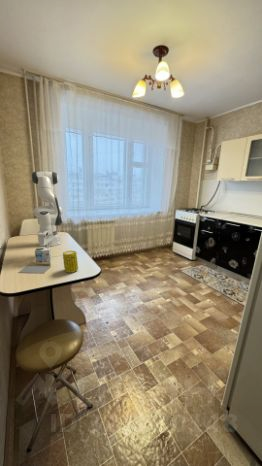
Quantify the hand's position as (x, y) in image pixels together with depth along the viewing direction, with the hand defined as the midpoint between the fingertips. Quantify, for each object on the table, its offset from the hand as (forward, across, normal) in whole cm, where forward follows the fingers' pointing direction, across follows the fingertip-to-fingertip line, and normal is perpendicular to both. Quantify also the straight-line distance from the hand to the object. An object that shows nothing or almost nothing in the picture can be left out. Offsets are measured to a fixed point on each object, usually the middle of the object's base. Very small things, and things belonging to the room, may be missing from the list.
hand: (47, 248), depth 159 cm
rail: (+9, +15, 0) cm, 17 cm away
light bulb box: (+9, +8, 0) cm, 12 cm away
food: (+9, +22, +26) cm, 35 cm away
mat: (+9, +22, 0) cm, 24 cm away
